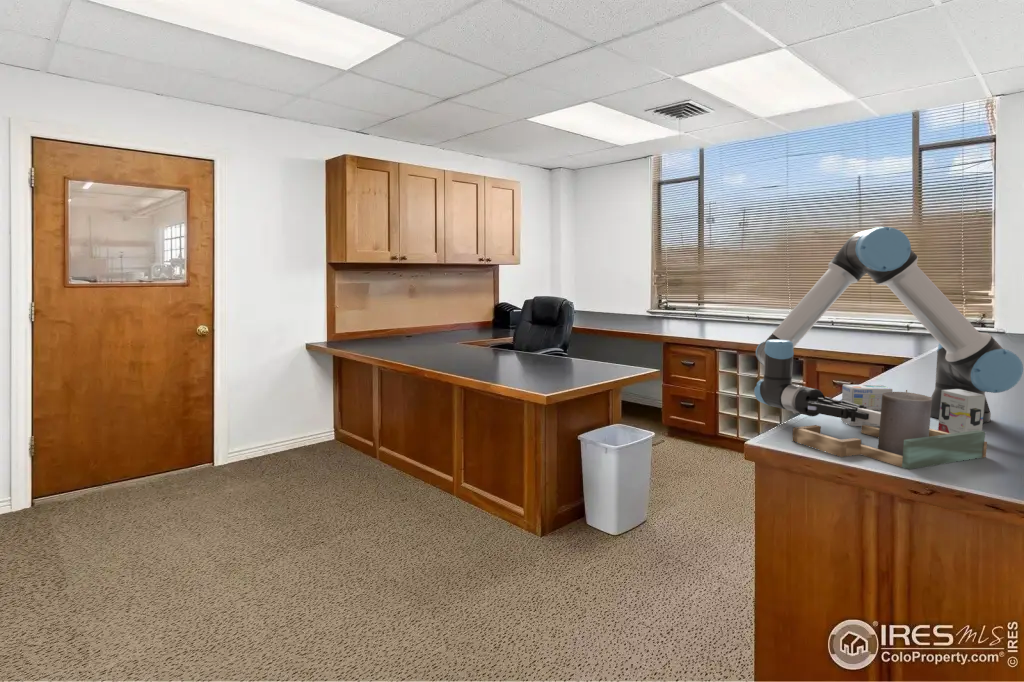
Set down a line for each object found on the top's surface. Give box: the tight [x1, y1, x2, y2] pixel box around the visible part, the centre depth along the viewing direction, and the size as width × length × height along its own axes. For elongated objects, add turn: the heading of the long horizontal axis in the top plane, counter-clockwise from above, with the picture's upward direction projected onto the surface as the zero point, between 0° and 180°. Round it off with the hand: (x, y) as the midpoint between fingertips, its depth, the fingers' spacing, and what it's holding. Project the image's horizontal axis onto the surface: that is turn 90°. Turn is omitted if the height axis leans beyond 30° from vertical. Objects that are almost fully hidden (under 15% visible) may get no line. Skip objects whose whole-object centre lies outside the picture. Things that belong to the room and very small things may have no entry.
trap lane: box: [791, 424, 988, 470], centre depth 142 cm, size 26×31×6 cm
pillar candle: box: [877, 389, 932, 456], centre depth 137 cm, size 10×10×15 cm
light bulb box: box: [840, 384, 893, 428], centre depth 166 cm, size 11×7×11 cm, turn 84°
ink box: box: [937, 389, 986, 434], centre depth 152 cm, size 9×5×12 cm, turn 5°
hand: (883, 419), depth 142 cm, fingers closed
